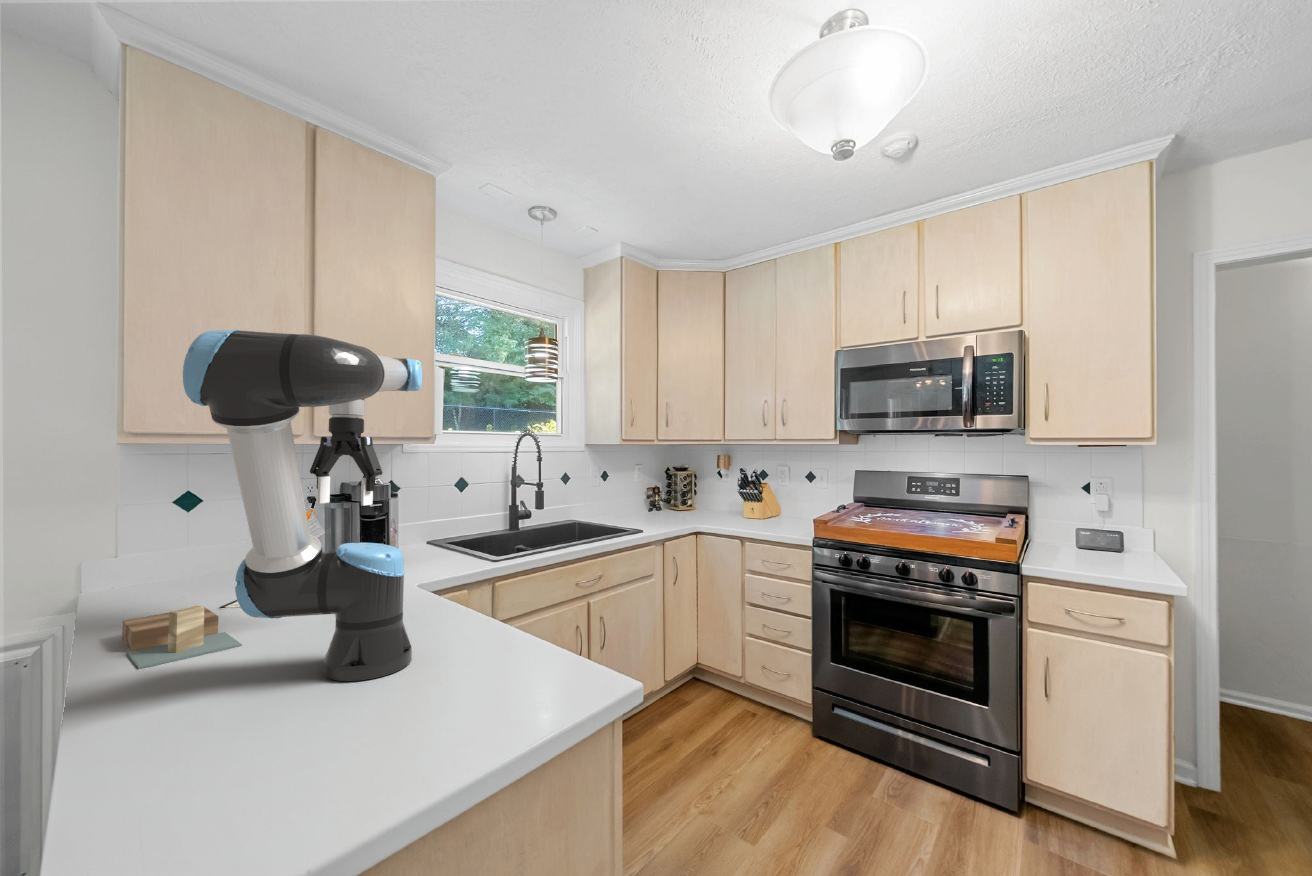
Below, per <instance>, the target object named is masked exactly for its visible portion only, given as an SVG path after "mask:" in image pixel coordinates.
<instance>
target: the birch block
mask: <svg viewBox="0 0 1312 876" xmlns="http://www.w3.org/2000/svg"><path fill="white" fill-rule="evenodd" d="M204 607H205V606H203V605H193V606H188V607H185V608H181V609H176V610H171V611H168V613H169V630H168V652H174V653H177V652H181V651H184V650H187V649H190V648H194V647H197V646H200V645H203V638H204Z"/></svg>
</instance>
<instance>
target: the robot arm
mask: <svg viewBox="0 0 1312 876" xmlns="http://www.w3.org/2000/svg"><path fill="white" fill-rule="evenodd" d="M183 361H184V362H183V367H182V383H183V384H182V385H183V389H184V393H185V394H186V396H187V397H188V399H189V400H190V401H191V402H192V403H194V404H196V405H199V406H202V407H206V406H208V408H209V411H210V417H211V420H212V422H213V423H215V424H216V425H218V426H220V427H223V428H224V429H226V431H227V432H226V433H227V436H228V441H229V445H230V448H231V453H232V458H233V462H234V466H235V467H234V468H235V471H236V477H237V481H238V486H239V490H240V494H241V498H242V502H243V508H244V511H245V516H246V520H247V521H246V522H247V525H248V529H249V530H248V531H249V533H250V539H251V544H252V548H250V549H249V551H247V553H246V554H245V555H246V556H245V558H244V559H243V560H242V561H241V563H240V564H239V566H238V568H237V571H236V574H235V582H236V585H235V586H234V590H235V597H236V600H237V601H238V603H239V605H240V607H241V610H242V611H243V612H244V613H245V614H246V615H247V616H249V617H253V618H256V619H257V618H259V619H281V618H286V617H305V616H319V615H321V616H323V615H335V626H334V627H335V628H334V632H333V636H332V637H331V640H330V643H329V647H328V649H327V652H326V654H325V657H324V661H323V675H324V677H326V678H327V679H330V680H333V681H338V682H339V681H341V682H357V681H367V680H372V679H377V678H381V677H385V676H389V675H391V674H394V673H396V672H398V671H400V670H402V669H405V668H406V667H407V666H408V665H409V664H411V662H412V660H413V658H412V657H413V654H412V653H413V647H412V644H411V642H410V639H409V636H408V633H407V630H406V626H405V624H404V591H405V590H404V587H405V584H404V583H405V582H404V581H405V574H406V570H405V565H404V564H405V563H404V561H405V560H404V553H403V552H402V550H400V549H399V548H398V547H396V546H393V545H389V544H384V543H376V542H348V543H341V544H339V546H338V547H337V548H336V550H335V551H323V547H322V542H321V540H320V538H318V537H316V536H314V534H313V535H312V534H310V533H311V532H310V528H309V522H308V515H307V509H306V504H305V498H304V493H303V488H302V487H303V486H302V481H301V473H300V468H299V462H298V457H297V452H296V445H295V441H294V435H293V434H294V433H293V429H292V421H293V420H294V419H295V418H296V417H297V416H298V415H299V413H300V408H317V407H319V408H320V407H327V406H328V414H329V415H330V416H331V417H329V419H328V432H329V433H331V436H322V437H320V442H319V447H318V450H317V452H316V455H315V457H314V459H313V463H312V464H311V467H310V469H309V473H310V474H311V475H312V474H313V475H314V476H315V477H316V490H317V504H329V503H330V500H331V499H330V498H331V497H330V496H331V495H330V494H331V476H330V471H331V470H332V469H333V467H334V466H335V465H336V463H337V462H338V460H339V459H340V457H343V456H350V457H351V458H352V459H353V461H354V462H355V464H356V465H357V467H358V468H359V471H361V473H362V475H363V476H362V477H361V481H360V482H361V483H360V485H361V487H360V489H361V490H360V497H361V498H360V506H372V505H373V501H374V500H373V499H374V491H375V488H376V487H375V486H376V485H375V483H376V482H375V480H376V477H378V476H382V475H383V469H382V467H381V465H380V462H379V458H378V456H377V453H376V451H375V448H374V445H373V444H374V443H373V437H372V436H362V434H363V433H364V432H365V419H364V418H362V417H364V416H365V399H368V398H370V397H373V396H374V395H375V394H377V393H381V392H416V391H417V392H418V391H419V390H420V389H421V388H422V384H423V366H422V363H421V361H420V360H418V359H412V358H408V357H407V358H396V357H390V356H385V355H380V354H379V355H377V354H376V353H375V352H373V351H372V350H371V349H369V348H366V347H365V346H360V345H357V344H353V343H350V342H346V341H342V340H338V339H335V338H331V337H326V336H321V335H316V334H306V333H305V334H304V333H302V334H299V333H298V334H297V333H280V332H265V331H254V330H253V331H252V330H241V329H233V330H209V331H205V332H202V333H200V334H199V335H198V336H197V337H195V339H193V341H192V342H191V344H190V346H189V347H188V349H187V353H186V354H185V358H184V360H183Z"/></svg>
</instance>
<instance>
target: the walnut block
mask: <svg viewBox="0 0 1312 876" xmlns="http://www.w3.org/2000/svg"><path fill="white" fill-rule="evenodd" d="M168 630H169V612H165V613H160V614H153V615H148V616H143V617H142V616H141V617H136V618H132V619H131V618H129V619H126V620H122V631H121V634H122V635H121V636H122V637H121V639H122V641H123V642H124V643H125V644H126V645H127V648H129V650H131V651H136V650H141V649H145V648H150V647H155V646H160V645H165V644H168ZM218 633H219V615H217V614H215V612H213V611H211V610H210V609H208V608H206V607H205V606H204V636H208V635H213V634H218Z"/></svg>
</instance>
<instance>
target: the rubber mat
mask: <svg viewBox="0 0 1312 876" xmlns="http://www.w3.org/2000/svg"><path fill="white" fill-rule="evenodd" d="M242 646H243V643H241V642H240V641H238V640H237V639H235V638H234V637H233V636H231V635H230V634H229V633H227V632H225V631H223V632H222V631H221V632H218V634H213V635H208V636H204V638H203V645H200V646H197V647H194V648H190V649H187V650H184V651H181V652H177V653H174V652H168V644H165V645H160V646H155V647H150V648H145V649H141V650H136V651H132V650H131V651H127V652H126V655H127V656H128V658H129V659H130V660H131V662H132V663H133V664H134V665H135V667H136V668H137V667H138V668H137V669H138V670H141V669H145V667H146V668H150V667H154V665H155V666H158V665H159V666H160V665H164V664H167V663H172V662H177V661H180V660H184V659H185V660H186V659H188V658H189V659H190V658H193V657H199V656H202V655H206V654H212V653H215V652H219V651H224V650H229V649H233V648H237V647H242Z"/></svg>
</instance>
